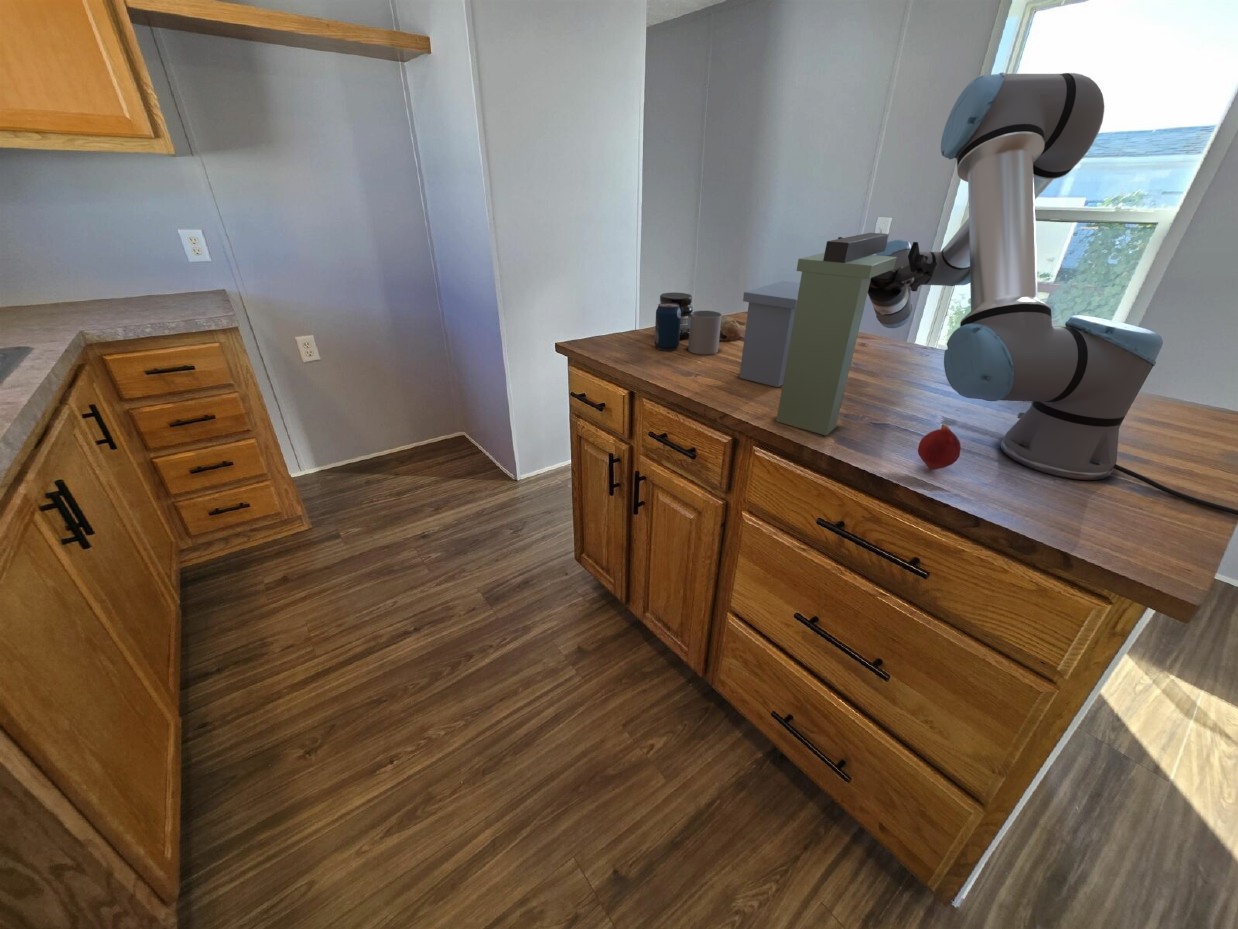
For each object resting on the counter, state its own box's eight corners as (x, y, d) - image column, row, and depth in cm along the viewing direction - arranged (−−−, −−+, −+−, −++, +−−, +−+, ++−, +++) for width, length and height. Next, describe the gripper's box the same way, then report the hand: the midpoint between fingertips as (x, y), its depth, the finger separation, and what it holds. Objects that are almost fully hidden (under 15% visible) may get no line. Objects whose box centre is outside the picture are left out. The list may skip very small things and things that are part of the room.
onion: (952, 466, 84) (969, 423, 80) (951, 481, 80) (968, 436, 76) (914, 457, 87) (928, 415, 83) (910, 471, 83) (925, 427, 79)
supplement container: (663, 329, 161) (665, 290, 155) (695, 333, 157) (698, 293, 152) (651, 337, 153) (652, 296, 147) (684, 342, 149) (687, 300, 143)
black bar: (884, 250, 96) (889, 233, 95) (844, 262, 82) (848, 242, 80) (865, 249, 98) (869, 232, 97) (823, 260, 83) (826, 241, 82)
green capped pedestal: (856, 414, 103) (896, 256, 88) (831, 437, 94) (871, 265, 79) (800, 400, 110) (828, 251, 95) (771, 419, 101) (798, 258, 86)
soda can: (683, 347, 144) (686, 304, 138) (669, 352, 140) (671, 308, 134) (664, 343, 148) (666, 300, 142) (649, 348, 144) (651, 304, 138)
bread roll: (705, 350, 154) (707, 329, 148) (706, 328, 160) (708, 307, 153) (738, 352, 153) (741, 331, 146) (738, 329, 158) (742, 308, 152)
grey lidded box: (814, 368, 129) (830, 286, 119) (780, 389, 115) (795, 299, 105) (770, 358, 135) (782, 280, 126) (733, 377, 122) (743, 291, 112)
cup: (717, 355, 138) (721, 318, 133) (687, 353, 139) (689, 316, 134) (718, 346, 145) (722, 311, 140) (689, 345, 146) (692, 309, 142)
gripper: (943, 315, 107) (939, 272, 89) (826, 299, 121) (803, 259, 103) (957, 281, 106) (956, 230, 89) (838, 269, 120) (816, 223, 103)
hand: (873, 246), depth 96 cm, fingers open, 13 cm apart
